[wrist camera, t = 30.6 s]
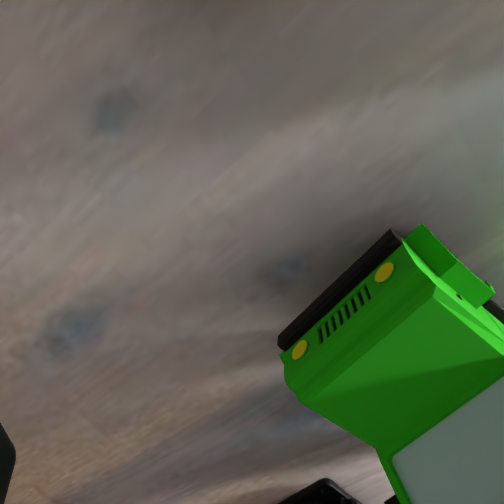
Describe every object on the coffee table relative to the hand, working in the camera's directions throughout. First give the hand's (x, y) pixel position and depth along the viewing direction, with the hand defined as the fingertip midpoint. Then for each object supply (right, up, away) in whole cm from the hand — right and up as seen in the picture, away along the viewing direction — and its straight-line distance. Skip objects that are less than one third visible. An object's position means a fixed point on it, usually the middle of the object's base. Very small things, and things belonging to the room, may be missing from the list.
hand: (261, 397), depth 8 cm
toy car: (+10, -3, +16) cm, 19 cm away
